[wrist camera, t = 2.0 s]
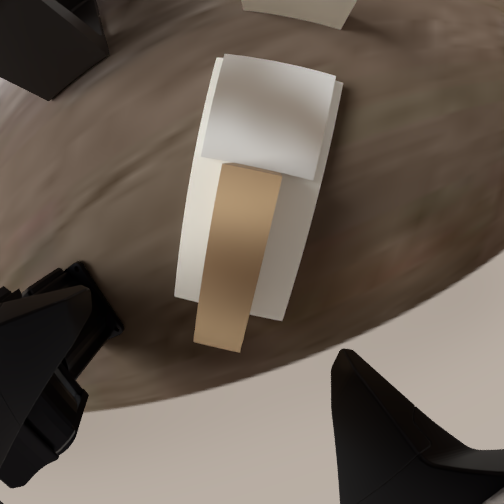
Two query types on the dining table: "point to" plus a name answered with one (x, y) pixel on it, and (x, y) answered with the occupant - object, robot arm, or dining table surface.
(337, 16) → the tile
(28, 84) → the phone stand
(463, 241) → the dining table surface
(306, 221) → the tool rest
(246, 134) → the turner
